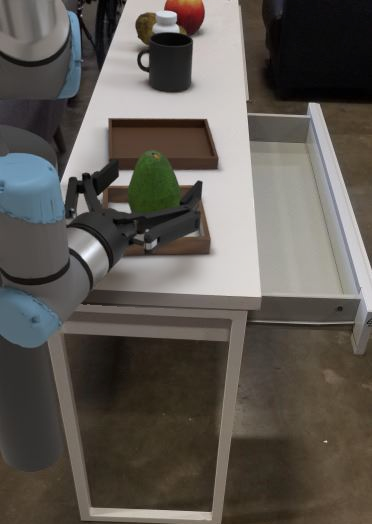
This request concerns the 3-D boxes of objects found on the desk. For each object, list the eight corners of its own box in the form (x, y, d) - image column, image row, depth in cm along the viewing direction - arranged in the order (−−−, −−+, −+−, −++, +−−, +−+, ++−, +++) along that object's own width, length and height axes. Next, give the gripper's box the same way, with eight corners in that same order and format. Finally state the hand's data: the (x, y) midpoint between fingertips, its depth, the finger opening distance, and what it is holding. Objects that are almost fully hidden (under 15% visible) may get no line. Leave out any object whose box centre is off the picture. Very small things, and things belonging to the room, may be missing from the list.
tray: (110, 169, 101) (109, 158, 100) (108, 128, 112) (108, 118, 111) (217, 169, 103) (218, 157, 102) (206, 129, 114) (207, 118, 113)
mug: (137, 75, 132) (136, 30, 125) (189, 76, 132) (192, 32, 126) (137, 91, 125) (136, 45, 119) (192, 93, 126) (194, 47, 119)
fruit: (155, 28, 155) (156, -16, 147) (189, 23, 159) (191, -20, 152) (177, 40, 149) (178, -5, 141) (211, 35, 153) (215, -10, 146)
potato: (188, 56, 141) (189, 19, 136) (135, 54, 140) (135, 17, 134) (186, 44, 147) (187, 8, 141) (135, 43, 146) (134, 6, 140)
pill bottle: (179, 72, 134) (181, 18, 126) (152, 72, 133) (152, 17, 125) (177, 63, 138) (179, 9, 130) (151, 62, 137) (151, 9, 129)
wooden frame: (104, 255, 84) (103, 240, 82) (103, 199, 95) (102, 185, 93) (209, 253, 86) (211, 239, 84) (197, 198, 96) (198, 184, 94)
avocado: (127, 238, 87) (125, 163, 79) (129, 211, 93) (127, 137, 84) (179, 240, 88) (183, 165, 79) (179, 212, 93) (182, 139, 84)
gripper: (5, 251, 78) (85, 181, 91) (174, 305, 72) (233, 222, 85) (-6, 200, 72) (81, 134, 85) (177, 254, 66) (239, 174, 80)
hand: (157, 178), depth 85 cm, fingers open, 13 cm apart
